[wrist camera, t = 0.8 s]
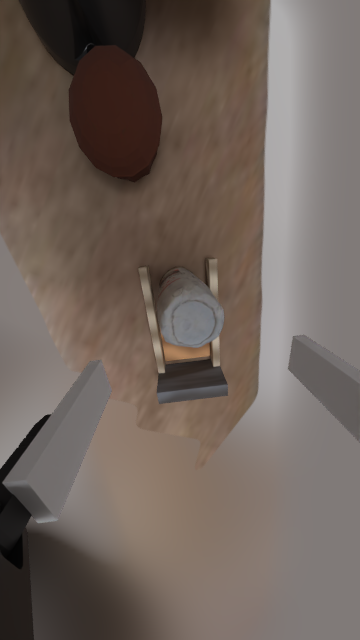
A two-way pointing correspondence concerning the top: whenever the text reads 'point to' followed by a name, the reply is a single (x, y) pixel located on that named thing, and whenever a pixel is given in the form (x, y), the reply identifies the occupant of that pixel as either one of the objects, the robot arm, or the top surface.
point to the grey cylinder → (187, 310)
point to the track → (184, 354)
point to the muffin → (115, 112)
